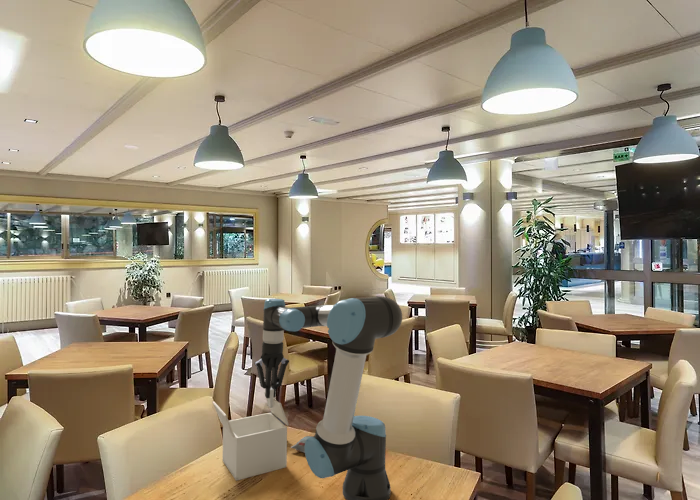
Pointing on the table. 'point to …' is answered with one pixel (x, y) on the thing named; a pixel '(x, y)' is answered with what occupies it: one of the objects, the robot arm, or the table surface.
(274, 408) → the flap right
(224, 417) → the flap left
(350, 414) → the robot arm
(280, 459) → the carton
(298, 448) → the packaged food
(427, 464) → the table surface
